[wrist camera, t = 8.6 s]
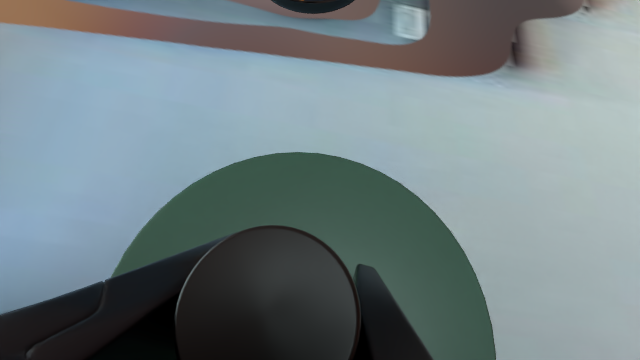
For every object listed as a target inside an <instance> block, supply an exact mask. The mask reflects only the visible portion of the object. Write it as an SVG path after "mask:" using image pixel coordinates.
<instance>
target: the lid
mask: <svg viewBox="0 0 640 360" xmlns="http://www.w3.org/2000/svg"><path fill="white" fill-rule="evenodd" d="M235 232H237V233H235ZM232 233H235V234H233V235H230V236H228V237H227V238H225V239H224V240H222V241H220V242H219V243H218V244H216V245H215V246H214V247H212V248H211V249H210V250H209V251H208V252H207V253H206V254H205V255H204V256H203V257H202V258H201V259H200V260H199V262H198V263H197V264H196V265H195V267H194V268H193V269H192V271H191V273H190V274H189V276H188V277H187V279H186V281H185V283H184V285H183V288H182V290H181V292H180V295H179V298H178V301H177V305H176V310H175V315H174V325H173V338H174V347H175V353H176V358H177V360H353V359H354V356H355V354H356V350H357V346H358V343H359V337H360V330H361V310H360V301H359V297H358V293H357V289H356V286H355V283H354V281H353V276H354V273H355V269H356V266H357V265H358V264H363V265H367V266H371V267H374V268H375V269H376V271H377V272H378V274H379V275H380V277H381V279H382V280H383V282H384V283H385V285H386V286H387V288H388V289H389V291H390V292H391V294H392V296H393V297H394V299H395V300H396V302H397V303H398V305H399V306H400V308H401V309H402V311H403V313H404V314H405V316H406V317H407V319H408V320H409V322H410V323H411V325H412V326H413V328H414V329H415V331H416V333H417V334H418V336H419V337H420V339H421V340H422V342H423V343H424V345H425V346H426V348H427V350H428V351H429V353H430V354H431V356H432V357H433V359H434V360H496V353H495V345H494V338H493V330H492V324H491V320H490V316H489V313H488V309H487V305H486V301H485V297H484V295H483V292H482V290H481V287H480V284H479V282H478V279H477V276H476V274H475V272H474V270H473V268H472V266H471V264H470V262H469V260H468V258H467V256H466V255H465V253H464V251H463V249H462V248H461V246H460V245H459V243H458V242H457V240H456V239H455V237H454V236H453V234H452V233H451V231H450V230H449V229H448V228H447V226H446V225H445V224H444V223H443V222H442V221H441V219H440V218H439V217H438V216H437V215H436V214H435V212H434V211H433V210H432V209H430V208H429V207H428V206H427V205H426V204H425V203H424V202H423V201H422V200H421V199H420V198H419V197H418V196H416V195H415V194H414V193H412V192H411V191H410V190H408V189H407V188H406V187H404V186H403V185H401V184H400V183H399V182H397V181H395V180H393V179H392V178H390V177H388V176H386V175H385V174H383V173H381V172H379V171H377V170H375V169H372V168H370V167H368V166H365V165H363V164H361V163H358V162H354V161H351V160H348V159H344V158H341V157H336V156H330V155H325V154H319V153H302V152H293V153H276V154H270V155H264V156H259V157H254V158H250V159H247V160H244V161H240V162H237V163H234V164H231V165H229V166H226V167H224V168H222V169H219V170H217V171H215V172H212V173H211V174H209V175H207V176H205V177H204V178H202V179H200V180H198V181H196V182H195V183H193V184H192V185H190V186H189V187H187V188H186V189H185V190H183V191H182V192H180V193H179V194H178V195H176V196H175V197H174V198H172V199H171V200H170V201H169V202H168V203H167V204H166V205H165V206H163V207H162V208H161V209H160V210H159V211H158V212H157V213H156V214H155V215H154V216H153V217H152V218H151V219H150V220H149V222H148V223H147V224H146V225H145V226H144V227H143V228H142V229H141V230H140V232H139V233H138V234H137V236H136V237H135V239H134V240H133V241H132V243H131V244H130V246H129V247H128V248H127V250H126V251H125V253H124V254H123V256H122V258H121V260H120V261H119V263H118V265H117V267H116V268H115V270H114V272H113V274H112V276H111V278H112V277H115V276H117V275H120V274H123V273H126V272H128V271H131V270H134V269H137V268H139V267H142V266H145V265H147V264H150V263H153V262H156V261H158V260H161V259H164V258H167V257H169V256H172V255H175V254H178V253H180V252H183V251H186V250H188V249H191V248H194V247H197V246H199V245H202V244H205V243H208V242H210V241H213V240H216V239H219V238H221V237H224V236H227V235H229V234H232Z"/></svg>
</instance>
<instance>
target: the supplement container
mask: <svg viewBox="0 0 640 360" xmlns="http://www.w3.org/2000/svg"><path fill="white" fill-rule="evenodd" d="M272 1H273V2H274V3H276V4H278V5H279V6H281V7H283V8H286V9H289V10H292V11H295V12H301V13H311V14H317V13H326V12H331V11H335V10H338V9H340V8H343V7H345V6H347V5H349V4H350V3H352V2H353V1H354V0H272Z"/></svg>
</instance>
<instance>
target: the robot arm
mask: <svg viewBox="0 0 640 360" xmlns="http://www.w3.org/2000/svg"><path fill="white" fill-rule="evenodd" d="M235 233H237V232H235ZM235 233H232V234H229V235H227V236H224V237H221V238H219V239H216V240H213V241H210V242H208V243H205V244H202V245H199V246H197V247H194V248H191V249H188V250H186V251H183V252H180V253H178V254H175V255H172V256H169V257H167V258H164V259H161V260H158V261H156V262H153V263H150V264H147V265H145V266H142V267H139V268H137V269H134V270H131V271H128V272H126V273H123V274H120V275H117V276H115V277H112V278H109V279H107V280H105V282H103V281H101V282H98V283H95V284H93V285H90V286H87V287H84V288H82V289H79V290H76V291H73V292H70V293H67V294H64V295H61V296H58V297H56V298H53V299H50V300H46V301H43V302H40V303H37V304H34V305H30V306H27V307H24V308H21V309H17V310H14V311H11V312H8V313H4V314H1V315H0V360H177V358H176V353H175V347H174V338H173V325H174V315H175V310H176V305H177V301H178V298H179V295H180V292H181V290H182V288H183V285H184V283H185V281H186V279H187V277H188V276H189V274H190V273H191V271H192V269H193V268H194V267H195V265H196V264H197V263H198V262H199V260H200V259H201V258H202V257H203V256H204V255H205V254H206V253H207V252H208V251H209V250H210V249H211V248H212V247H214V246H215V245H216V244H218V243H219V242H220V241H222V240H224V239H225V238H227V237H228V236H230V235H233V234H235ZM353 281H354V283H355V286H356V289H357V293H358V297H359V301H360V310H361V330H360V337H359V343H358V346H357V350H356V354H355V356H354V359H353V360H434V359H433V357H432V356H431V354H430V353H429V351H428V350H427V348H426V346H425V345H424V343H423V342H422V340H421V339H420V337H419V336H418V334H417V333H416V331H415V329H414V328H413V326H412V325H411V323H410V322H409V320H408V319H407V317H406V316H405V314H404V313H403V311H402V309H401V308H400V306H399V305H398V303H397V302H396V300H395V299H394V297H393V296H392V294H391V292H390V291H389V289H388V288H387V286H386V285H385V283H384V282H383V280H382V279H381V277H380V275H379V274H378V272H377V271H376V269H375V268H374V267H371V266H367V265H363V264H358V265H357V266H356V269H355V273H354V276H353Z"/></svg>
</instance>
